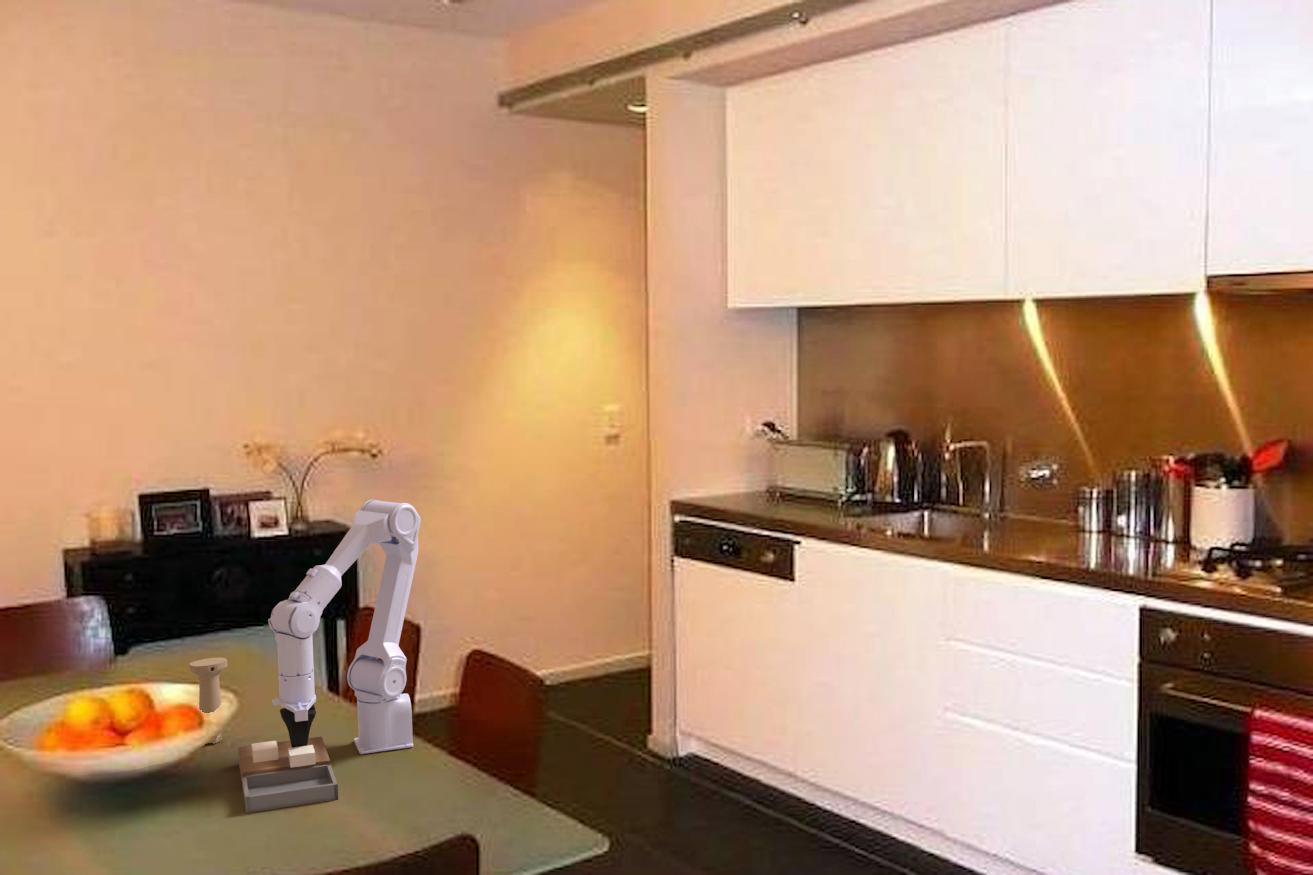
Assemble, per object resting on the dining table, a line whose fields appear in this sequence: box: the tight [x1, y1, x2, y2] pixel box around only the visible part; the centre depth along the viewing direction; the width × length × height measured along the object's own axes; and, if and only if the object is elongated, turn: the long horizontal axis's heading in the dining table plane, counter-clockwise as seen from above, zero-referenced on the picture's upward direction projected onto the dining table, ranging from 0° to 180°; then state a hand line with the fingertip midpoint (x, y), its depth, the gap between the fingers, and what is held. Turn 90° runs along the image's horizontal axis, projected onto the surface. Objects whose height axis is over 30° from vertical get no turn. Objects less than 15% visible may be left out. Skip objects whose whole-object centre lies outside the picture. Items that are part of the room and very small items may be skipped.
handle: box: [189, 657, 228, 744], centre depth 223 cm, size 5×6×15 cm
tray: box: [241, 763, 339, 814], centre depth 198 cm, size 14×10×2 cm
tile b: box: [251, 740, 278, 763], centre depth 207 cm, size 4×4×2 cm
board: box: [237, 736, 331, 789], centre depth 209 cm, size 14×13×3 cm
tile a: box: [288, 745, 316, 768], centre depth 204 cm, size 4×4×2 cm
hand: (299, 750), depth 207 cm, fingers closed
